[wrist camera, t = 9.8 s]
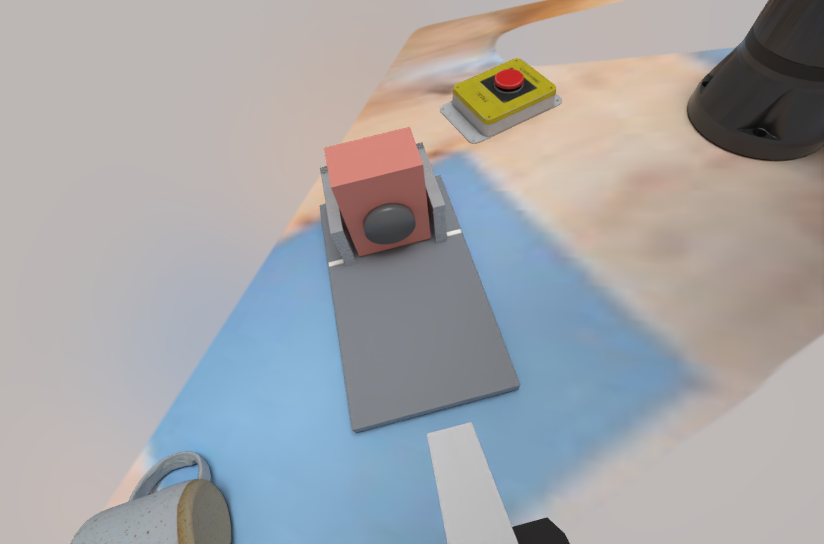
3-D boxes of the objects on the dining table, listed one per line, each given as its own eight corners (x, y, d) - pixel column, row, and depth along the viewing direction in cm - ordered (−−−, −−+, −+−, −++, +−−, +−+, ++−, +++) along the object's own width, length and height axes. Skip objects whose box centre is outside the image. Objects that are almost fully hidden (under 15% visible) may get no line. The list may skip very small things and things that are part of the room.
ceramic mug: (244, 571, 30) (184, 589, 24) (139, 622, 29) (47, 656, 23) (226, 437, 36) (173, 421, 29) (137, 476, 35) (62, 469, 28)
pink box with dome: (419, 204, 45) (409, 126, 35) (433, 245, 42) (426, 172, 32) (352, 221, 44) (324, 147, 35) (360, 264, 41) (332, 196, 32)
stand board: (440, 183, 48) (440, 173, 47) (518, 389, 35) (520, 384, 33) (323, 213, 48) (319, 204, 46) (356, 432, 34) (351, 430, 33)
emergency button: (572, 76, 50) (473, 121, 48) (564, 105, 54) (472, 149, 51) (528, 43, 55) (435, 83, 52) (523, 72, 58) (437, 111, 56)
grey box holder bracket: (426, 181, 47) (422, 142, 41) (446, 240, 42) (445, 204, 37) (335, 204, 46) (320, 167, 41) (346, 266, 42) (330, 233, 37)
